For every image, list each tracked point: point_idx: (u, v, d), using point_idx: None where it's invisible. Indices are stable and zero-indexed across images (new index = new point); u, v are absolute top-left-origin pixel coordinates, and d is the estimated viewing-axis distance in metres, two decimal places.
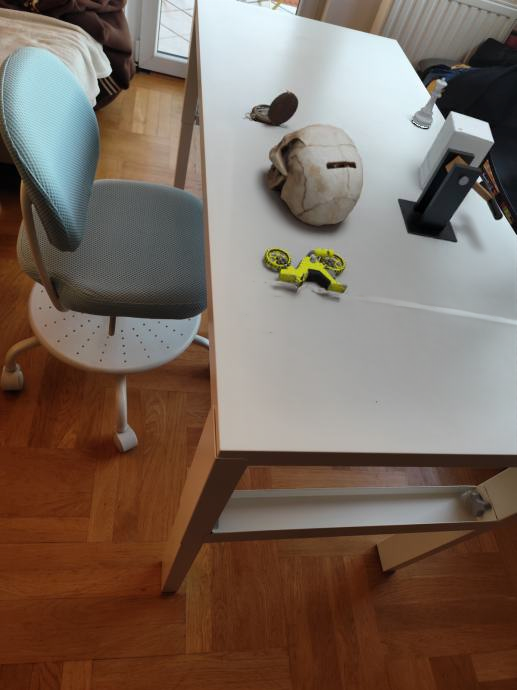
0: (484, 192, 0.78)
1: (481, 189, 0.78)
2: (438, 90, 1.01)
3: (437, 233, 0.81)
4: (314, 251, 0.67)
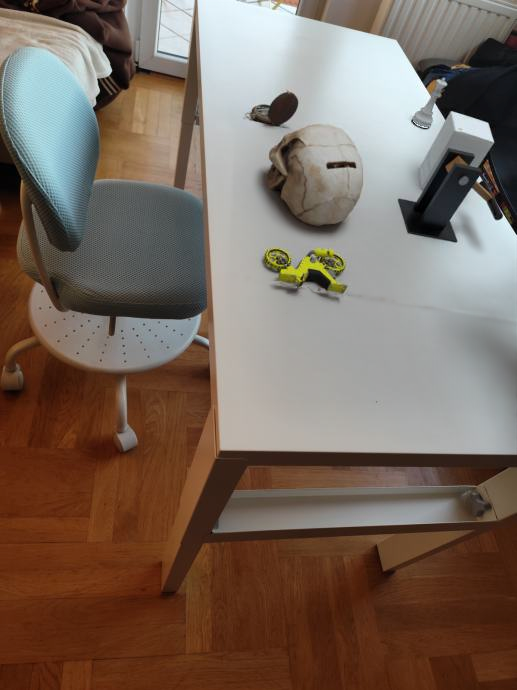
0: (484, 192, 0.78)
1: (481, 189, 0.78)
2: (438, 90, 1.01)
3: (437, 233, 0.81)
4: (314, 251, 0.67)
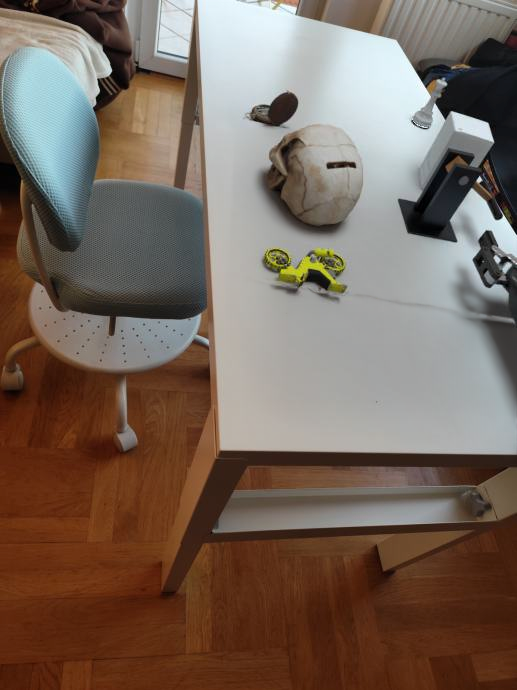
0: (484, 192, 0.78)
1: (481, 189, 0.78)
2: (438, 90, 1.01)
3: (437, 233, 0.81)
4: (314, 251, 0.67)
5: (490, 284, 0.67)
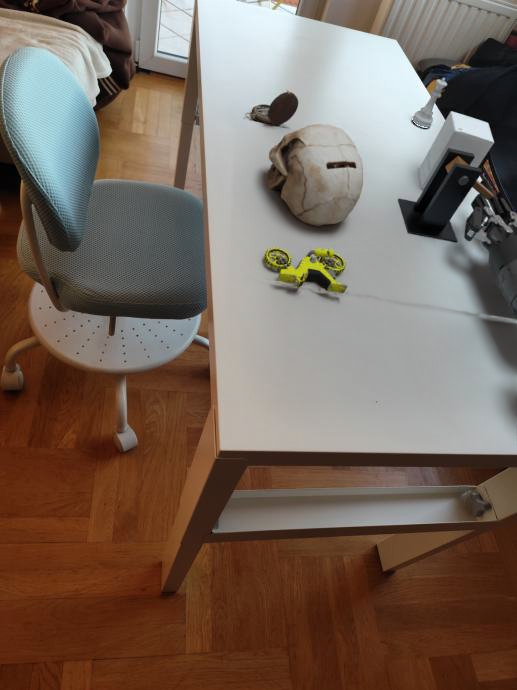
0: (485, 191, 0.78)
1: (482, 188, 0.78)
2: (438, 90, 1.01)
3: (437, 233, 0.81)
4: (314, 251, 0.67)
5: (468, 235, 0.72)
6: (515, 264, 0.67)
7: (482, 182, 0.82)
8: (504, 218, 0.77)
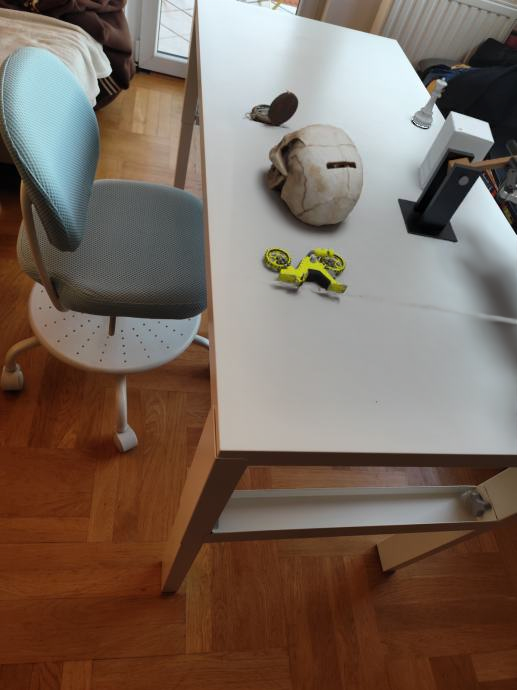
0: (504, 162, 0.74)
1: (497, 163, 0.74)
2: (438, 90, 1.01)
3: (437, 233, 0.81)
4: (314, 251, 0.67)
5: (501, 197, 0.67)
6: None
7: (507, 146, 0.77)
8: None
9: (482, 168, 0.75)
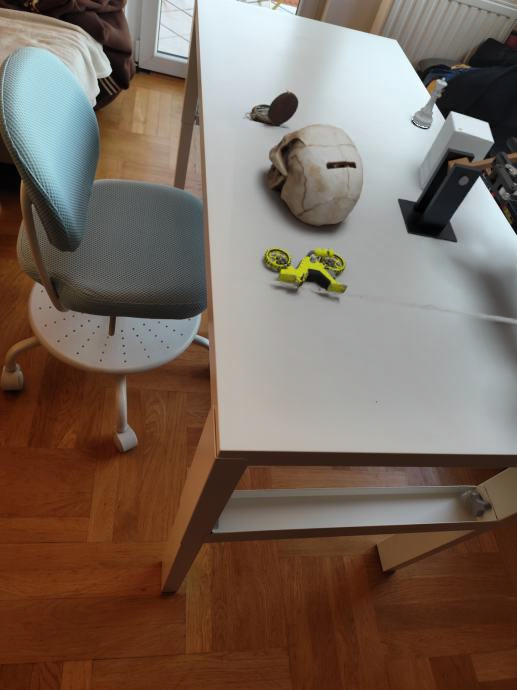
0: None
1: None
2: (438, 90, 1.01)
3: (437, 233, 0.81)
4: (314, 251, 0.67)
5: (505, 199, 0.66)
6: None
7: (507, 143, 0.76)
8: None
9: (482, 167, 0.74)
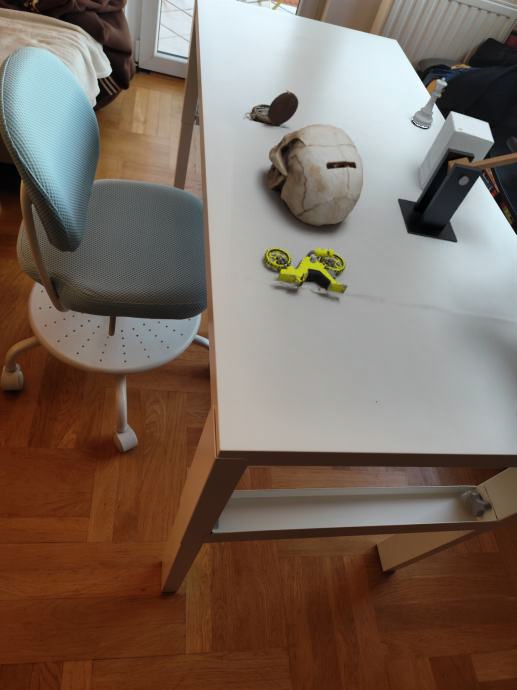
0: (504, 160, 0.74)
1: (498, 161, 0.74)
2: (438, 90, 1.01)
3: (437, 233, 0.81)
4: (314, 251, 0.67)
5: None
6: None
7: (507, 143, 0.76)
8: None
9: (482, 167, 0.74)
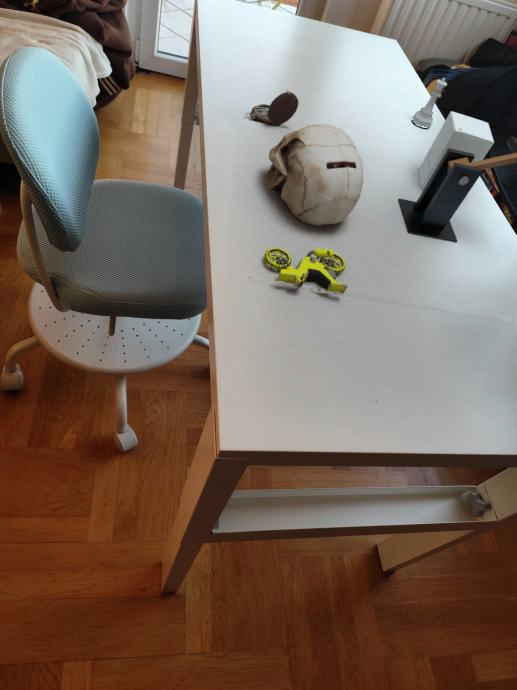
0: (504, 160, 0.74)
1: (498, 161, 0.74)
2: (438, 90, 1.01)
3: (437, 233, 0.81)
4: (314, 251, 0.67)
5: None
6: None
7: (507, 143, 0.76)
8: None
9: (482, 167, 0.74)
